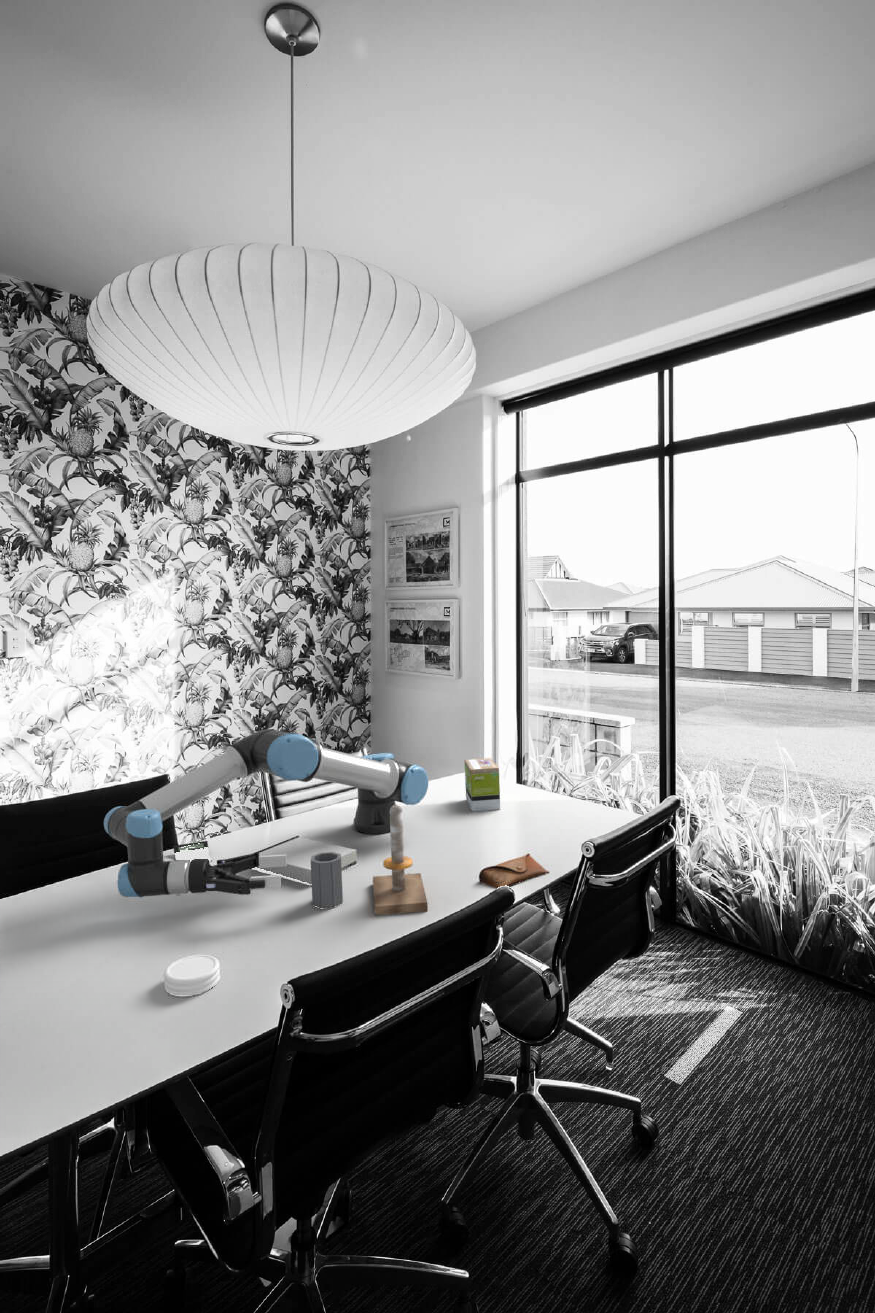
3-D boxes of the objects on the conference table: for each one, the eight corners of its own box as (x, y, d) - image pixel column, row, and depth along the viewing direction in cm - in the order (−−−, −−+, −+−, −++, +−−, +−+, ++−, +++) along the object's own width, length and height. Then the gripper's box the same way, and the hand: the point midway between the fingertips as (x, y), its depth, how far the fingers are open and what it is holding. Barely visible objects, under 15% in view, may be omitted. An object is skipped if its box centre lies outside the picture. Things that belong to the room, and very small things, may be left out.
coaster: (181, 1005, 129) (180, 986, 128) (154, 986, 135) (153, 968, 135) (230, 982, 136) (229, 964, 136) (202, 965, 143) (201, 948, 142)
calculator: (176, 868, 197) (175, 857, 197) (173, 855, 207) (173, 845, 207) (212, 862, 201) (211, 852, 200) (207, 850, 211) (207, 840, 211)
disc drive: (298, 852, 207) (297, 835, 207) (357, 866, 195) (357, 848, 194) (251, 872, 193) (250, 854, 192) (312, 889, 180) (311, 869, 180)
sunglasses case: (502, 891, 174) (491, 864, 176) (485, 898, 179) (475, 872, 181) (552, 872, 185) (541, 847, 187) (535, 879, 190) (525, 854, 192)
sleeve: (312, 909, 167) (309, 863, 166) (313, 897, 174) (311, 853, 173) (342, 907, 167) (340, 861, 167) (342, 895, 174) (341, 851, 173)
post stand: (375, 915, 163) (371, 818, 161) (373, 884, 181) (369, 796, 179) (427, 911, 164) (424, 814, 162) (420, 880, 182) (417, 793, 180)
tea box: (465, 799, 255) (463, 758, 254) (492, 798, 256) (491, 757, 255) (471, 812, 240) (470, 768, 239) (501, 810, 241) (500, 766, 240)
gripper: (202, 872, 179) (289, 867, 181) (178, 915, 154) (278, 908, 156) (201, 843, 178) (287, 838, 181) (176, 881, 154) (277, 874, 156)
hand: (283, 870), depth 169 cm, fingers open, 13 cm apart
